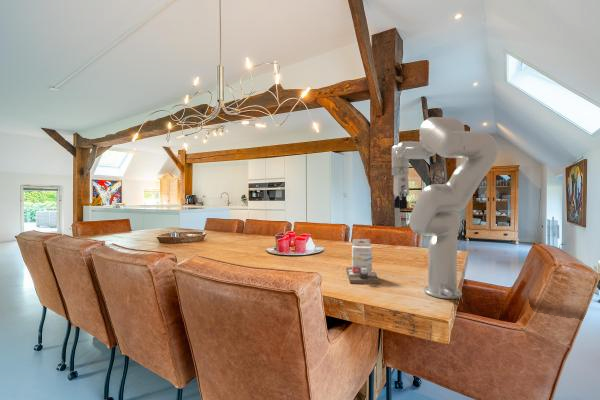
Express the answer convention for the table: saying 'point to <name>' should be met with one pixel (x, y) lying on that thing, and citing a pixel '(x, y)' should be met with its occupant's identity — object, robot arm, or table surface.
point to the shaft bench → (362, 281)
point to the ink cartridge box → (361, 255)
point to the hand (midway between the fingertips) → (400, 208)
